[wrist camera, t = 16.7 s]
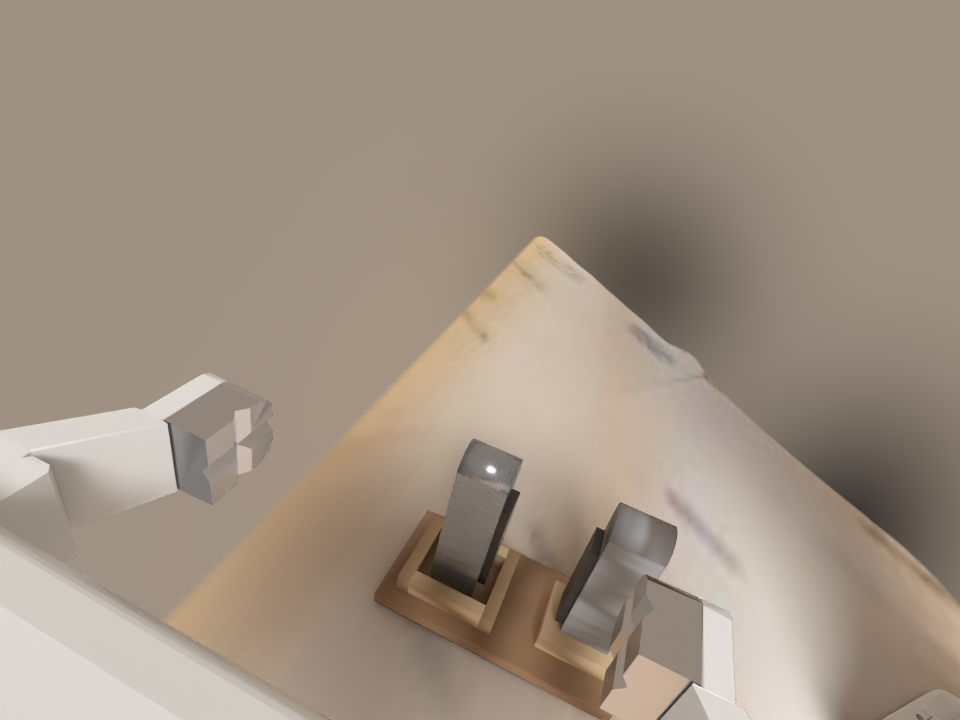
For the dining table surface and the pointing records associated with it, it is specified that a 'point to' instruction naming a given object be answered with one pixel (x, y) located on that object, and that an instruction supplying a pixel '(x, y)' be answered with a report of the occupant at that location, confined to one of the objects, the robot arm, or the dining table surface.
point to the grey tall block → (476, 517)
